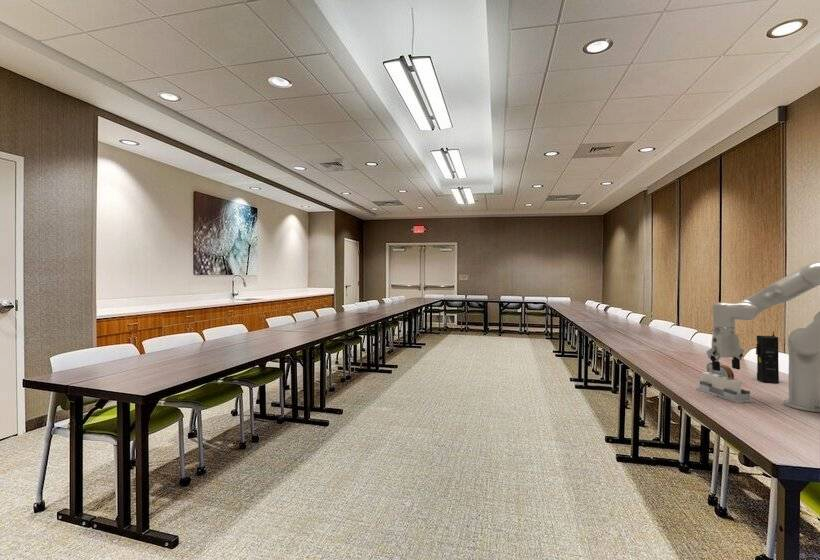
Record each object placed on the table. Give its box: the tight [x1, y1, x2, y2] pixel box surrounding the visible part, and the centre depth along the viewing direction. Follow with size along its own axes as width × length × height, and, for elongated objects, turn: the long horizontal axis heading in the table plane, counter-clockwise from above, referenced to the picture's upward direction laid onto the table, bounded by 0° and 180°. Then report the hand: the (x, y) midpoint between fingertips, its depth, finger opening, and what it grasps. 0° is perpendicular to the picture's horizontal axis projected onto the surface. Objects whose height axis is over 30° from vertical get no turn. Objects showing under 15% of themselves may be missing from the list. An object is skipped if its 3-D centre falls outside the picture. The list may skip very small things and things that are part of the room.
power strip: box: [700, 371, 742, 393], centre depth 173 cm, size 16×4×5 cm, turn 6°
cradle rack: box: [695, 380, 755, 404], centre depth 172 cm, size 20×8×4 cm, turn 7°
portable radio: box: [755, 330, 780, 384], centre depth 194 cm, size 8×6×25 cm
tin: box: [706, 362, 735, 379], centre depth 196 cm, size 15×3×8 cm, turn 179°
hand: (726, 369), depth 171 cm, fingers open, 9 cm apart
